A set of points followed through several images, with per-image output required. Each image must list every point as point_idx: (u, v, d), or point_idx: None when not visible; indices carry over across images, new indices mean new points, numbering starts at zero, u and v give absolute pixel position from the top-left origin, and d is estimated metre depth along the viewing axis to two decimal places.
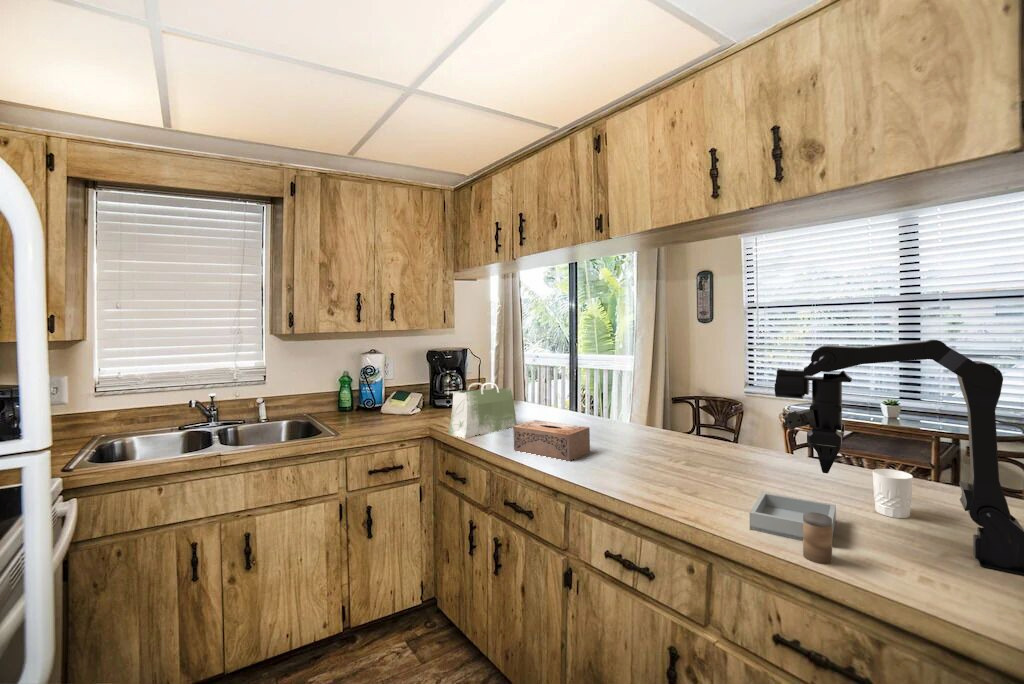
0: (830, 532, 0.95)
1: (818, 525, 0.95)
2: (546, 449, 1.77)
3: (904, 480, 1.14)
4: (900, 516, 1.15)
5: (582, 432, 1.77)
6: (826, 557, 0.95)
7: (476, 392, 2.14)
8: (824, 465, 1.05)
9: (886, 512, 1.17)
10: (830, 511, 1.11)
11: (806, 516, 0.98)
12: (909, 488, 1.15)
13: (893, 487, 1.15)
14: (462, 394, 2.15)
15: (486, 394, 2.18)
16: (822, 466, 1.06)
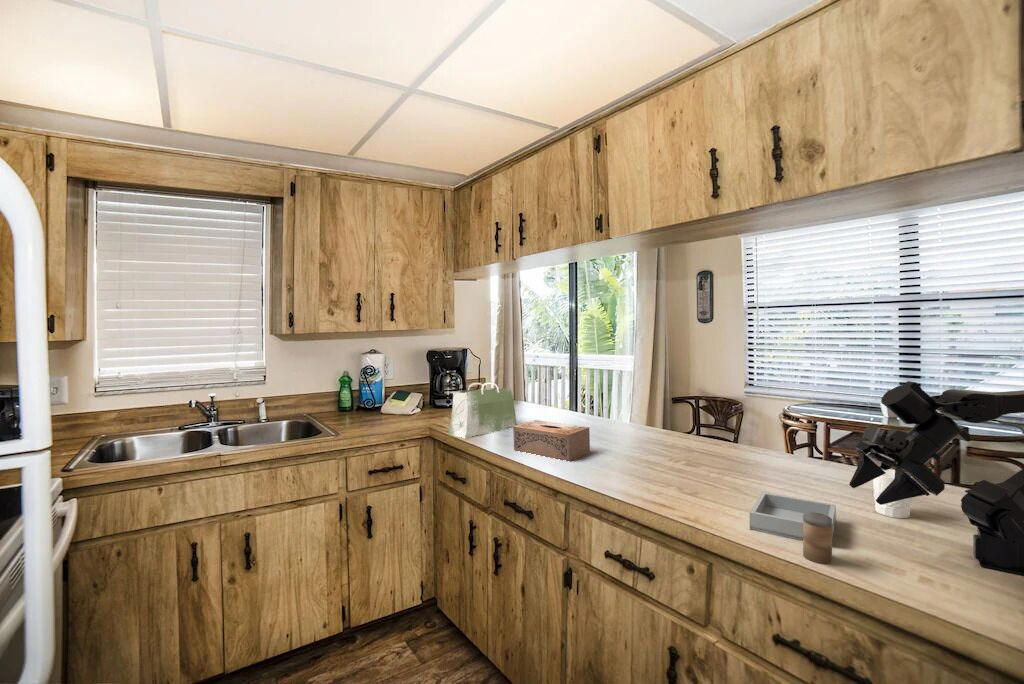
0: (830, 532, 0.95)
1: (818, 525, 0.95)
2: (546, 449, 1.77)
3: None
4: (900, 516, 1.15)
5: (582, 432, 1.77)
6: (826, 557, 0.95)
7: (476, 392, 2.14)
8: (887, 497, 0.91)
9: (886, 512, 1.17)
10: (830, 511, 1.11)
11: (806, 516, 0.98)
12: None
13: None
14: (462, 394, 2.15)
15: (486, 394, 2.18)
16: (884, 496, 0.91)
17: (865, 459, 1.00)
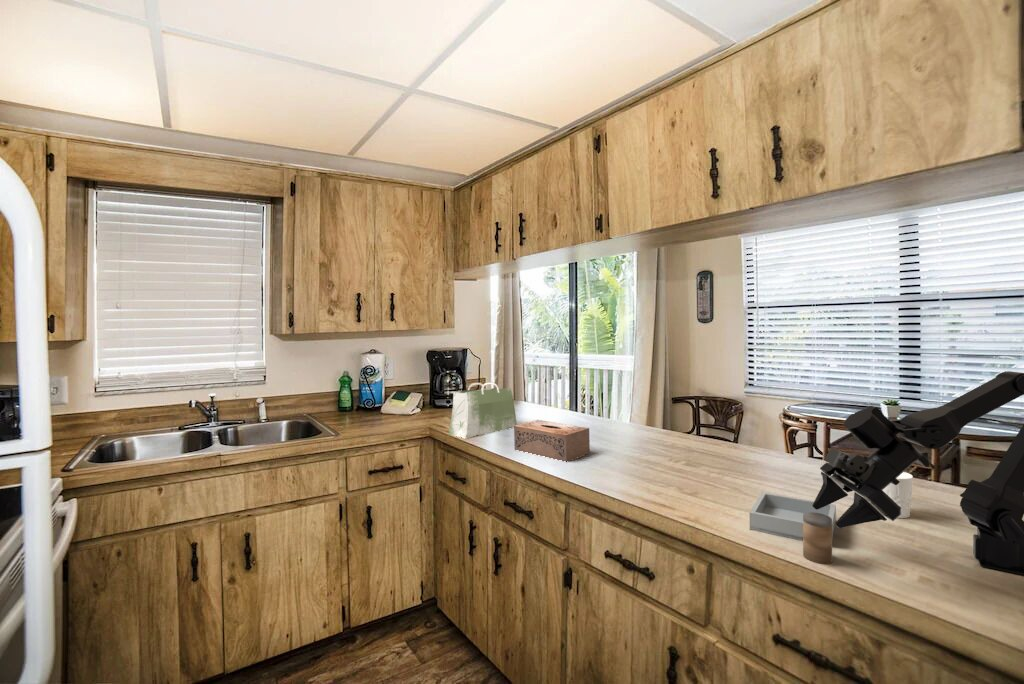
0: (830, 532, 0.95)
1: (818, 525, 0.95)
2: (544, 449, 1.77)
3: (904, 480, 1.14)
4: (900, 516, 1.15)
5: (581, 433, 1.76)
6: (826, 557, 0.95)
7: (477, 392, 2.14)
8: (846, 520, 0.92)
9: None
10: (830, 511, 1.11)
11: (806, 516, 0.98)
12: (909, 488, 1.15)
13: (893, 487, 1.15)
14: (462, 394, 2.15)
15: (486, 394, 2.18)
16: (843, 520, 0.92)
17: (828, 481, 1.02)
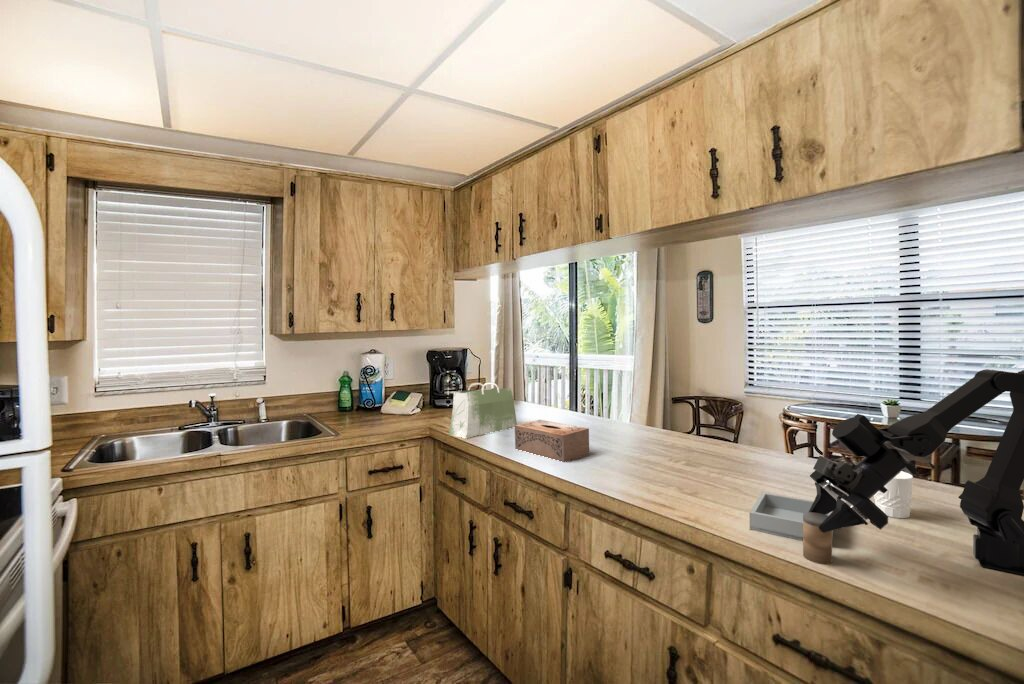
0: (830, 532, 0.95)
1: (818, 525, 0.95)
2: (543, 449, 1.77)
3: (904, 480, 1.14)
4: (900, 516, 1.15)
5: (580, 433, 1.76)
6: (826, 557, 0.95)
7: (477, 392, 2.14)
8: (829, 525, 0.94)
9: (886, 512, 1.17)
10: None
11: (806, 516, 0.98)
12: (909, 488, 1.15)
13: (893, 487, 1.15)
14: (463, 394, 2.15)
15: (487, 394, 2.18)
16: (826, 524, 0.94)
17: (822, 492, 1.00)
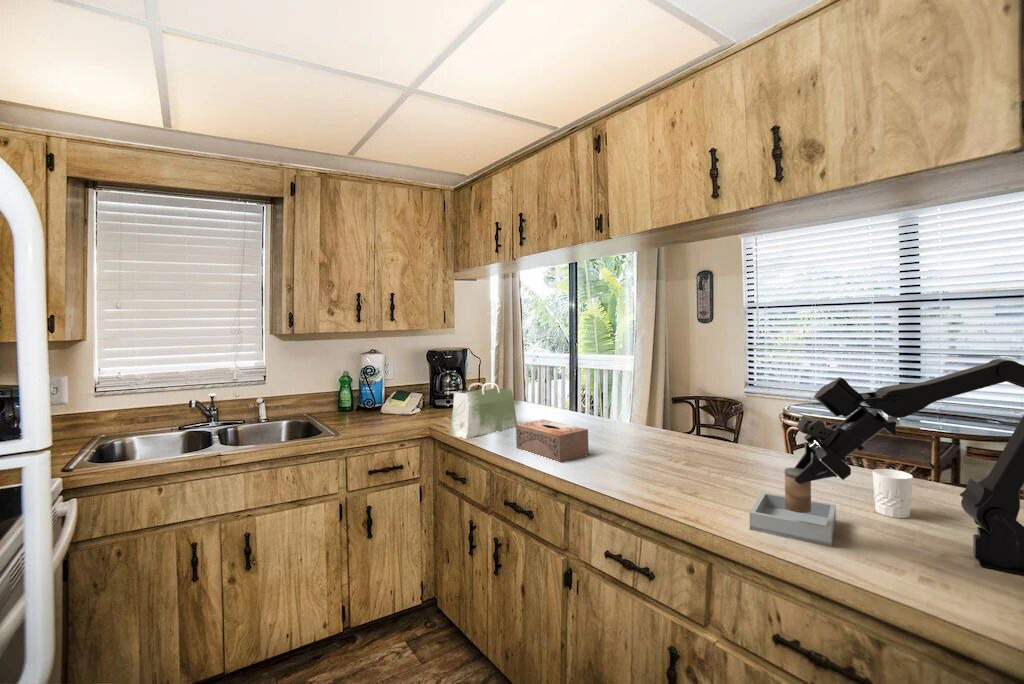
0: (807, 484, 1.04)
1: (794, 477, 1.04)
2: (541, 449, 1.77)
3: (904, 480, 1.14)
4: (900, 516, 1.15)
5: (578, 434, 1.75)
6: (802, 506, 1.04)
7: (477, 392, 2.14)
8: (803, 476, 1.03)
9: (886, 512, 1.17)
10: (830, 511, 1.11)
11: (787, 469, 1.07)
12: (909, 488, 1.15)
13: (893, 487, 1.15)
14: (463, 394, 2.15)
15: (487, 394, 2.18)
16: (800, 476, 1.03)
17: (808, 450, 1.08)
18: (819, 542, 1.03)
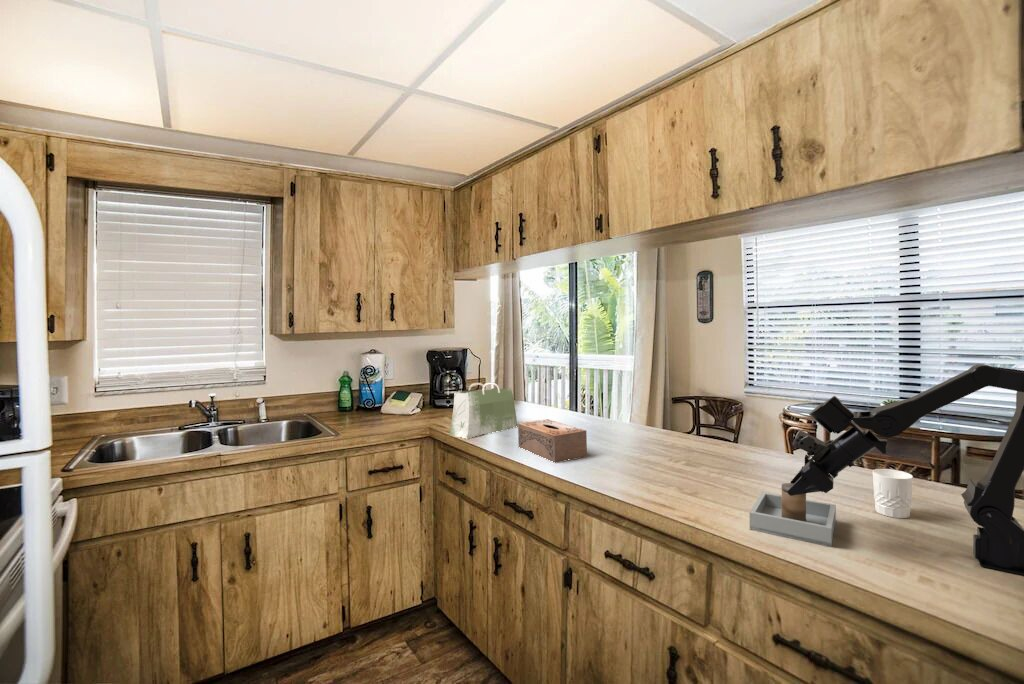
0: (800, 499, 1.10)
1: None
2: (539, 449, 1.78)
3: (904, 480, 1.14)
4: (900, 516, 1.15)
5: (576, 435, 1.74)
6: None
7: (477, 392, 2.14)
8: (794, 489, 1.09)
9: (886, 512, 1.17)
10: (830, 511, 1.11)
11: (784, 484, 1.14)
12: (909, 488, 1.15)
13: (893, 487, 1.15)
14: (463, 394, 2.14)
15: (487, 394, 2.17)
16: (792, 489, 1.09)
17: (806, 462, 1.15)
18: (819, 542, 1.03)
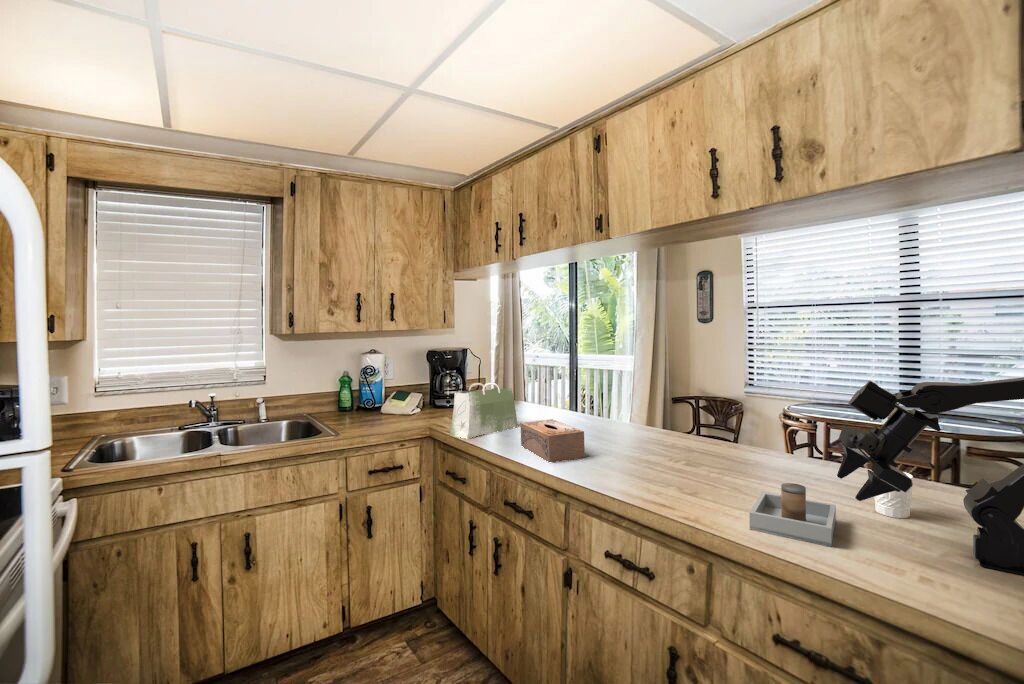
0: (800, 499, 1.10)
1: (788, 492, 1.11)
2: (537, 448, 1.78)
3: None
4: (900, 516, 1.15)
5: (572, 436, 1.73)
6: None
7: (478, 392, 2.13)
8: (864, 494, 1.00)
9: (886, 512, 1.17)
10: (830, 511, 1.11)
11: (784, 484, 1.14)
12: None
13: None
14: (464, 394, 2.14)
15: (488, 394, 2.17)
16: (861, 494, 1.00)
17: (848, 452, 1.09)
18: (819, 542, 1.03)
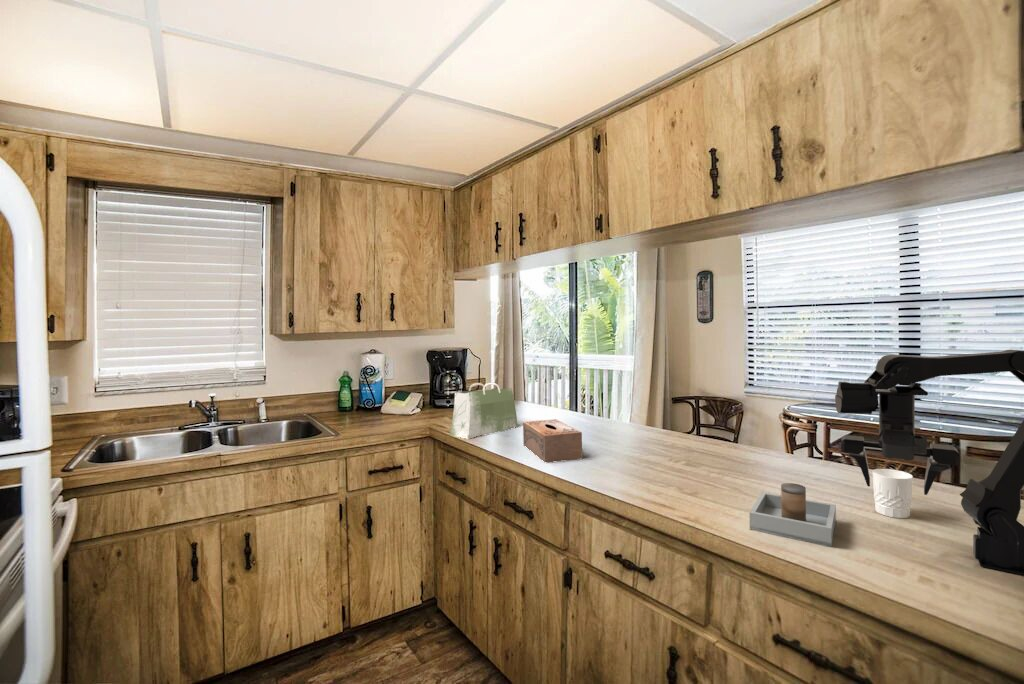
0: (800, 500, 1.10)
1: (788, 492, 1.11)
2: (536, 448, 1.79)
3: (904, 480, 1.14)
4: (900, 516, 1.15)
5: (569, 436, 1.72)
6: None
7: (478, 392, 2.13)
8: None
9: (886, 512, 1.17)
10: (830, 511, 1.11)
11: (784, 484, 1.14)
12: (909, 488, 1.15)
13: (893, 487, 1.15)
14: (464, 394, 2.14)
15: (488, 394, 2.17)
16: (929, 488, 0.95)
17: (865, 459, 1.00)
18: (819, 542, 1.03)
